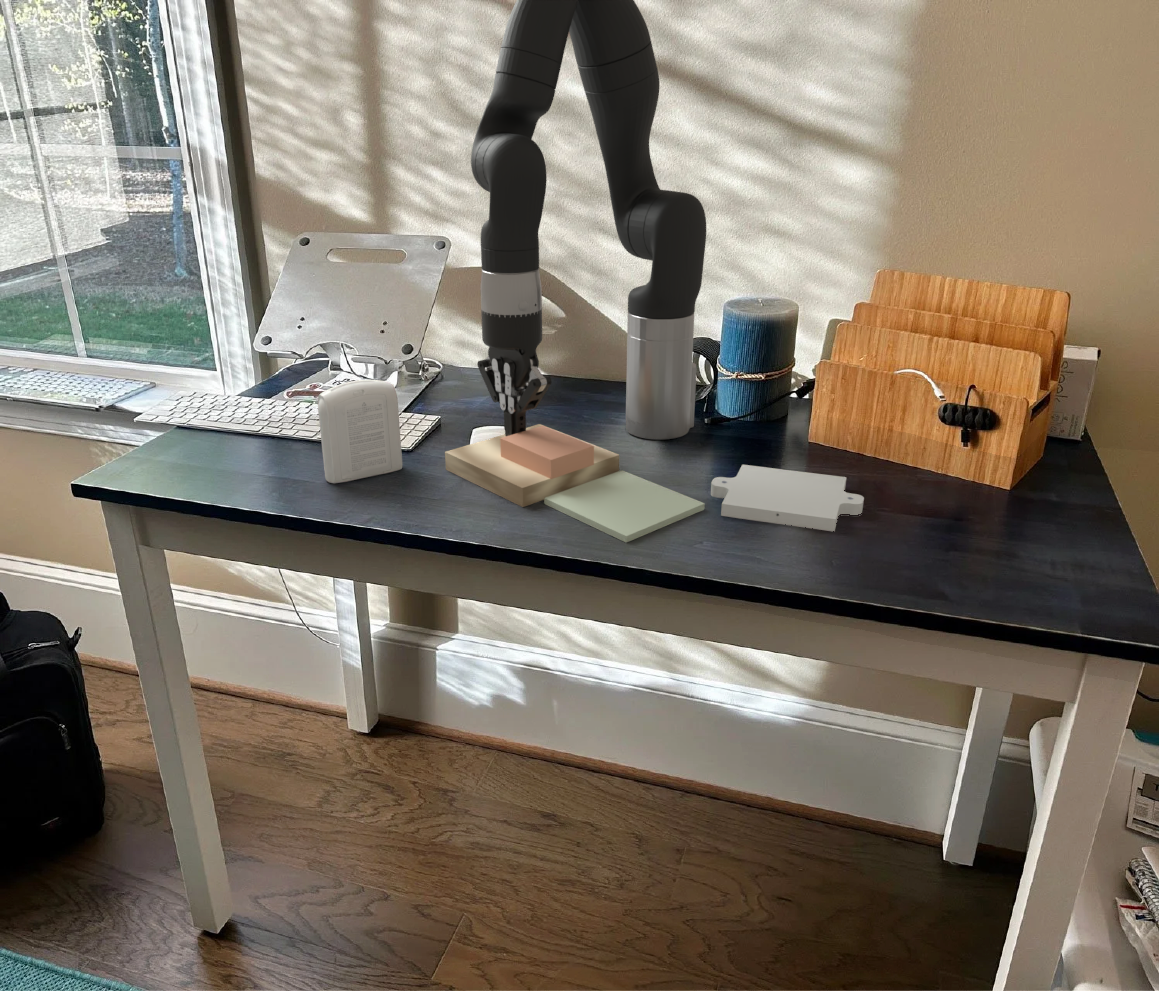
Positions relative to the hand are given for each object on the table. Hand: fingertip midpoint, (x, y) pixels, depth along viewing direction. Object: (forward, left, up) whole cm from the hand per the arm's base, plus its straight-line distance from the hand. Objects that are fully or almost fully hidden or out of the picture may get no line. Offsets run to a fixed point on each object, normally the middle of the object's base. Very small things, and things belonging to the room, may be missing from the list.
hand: (515, 437), depth 125 cm
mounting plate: (-17, +31, -5) cm, 36 cm away
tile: (0, +7, -1) cm, 7 cm away
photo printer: (+16, -11, -4) cm, 20 cm away
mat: (-1, +19, -4) cm, 20 cm away
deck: (0, +3, -4) cm, 5 cm away
